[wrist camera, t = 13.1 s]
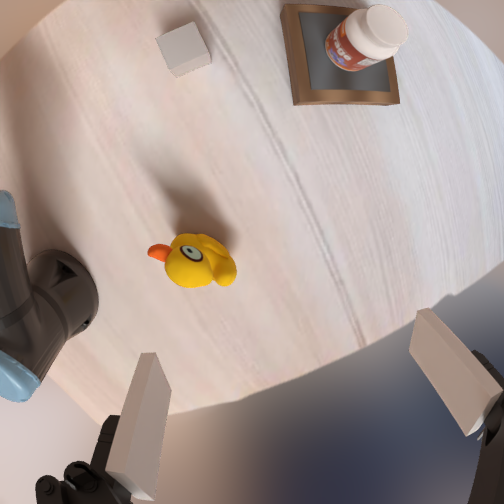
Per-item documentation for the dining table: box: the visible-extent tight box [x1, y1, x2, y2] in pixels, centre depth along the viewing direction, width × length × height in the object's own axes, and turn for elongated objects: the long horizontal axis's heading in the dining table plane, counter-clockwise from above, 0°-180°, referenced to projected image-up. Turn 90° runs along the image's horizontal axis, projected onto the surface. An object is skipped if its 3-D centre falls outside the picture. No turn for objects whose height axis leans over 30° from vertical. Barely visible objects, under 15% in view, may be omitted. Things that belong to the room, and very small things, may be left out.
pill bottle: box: [325, 4, 408, 71], centre depth 23 cm, size 6×6×11 cm
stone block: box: [155, 22, 212, 78], centre depth 29 cm, size 5×5×5 cm
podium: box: [280, 4, 400, 106], centre depth 31 cm, size 14×14×4 cm
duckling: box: [148, 233, 237, 288], centre depth 37 cm, size 11×5×10 cm, turn 60°
